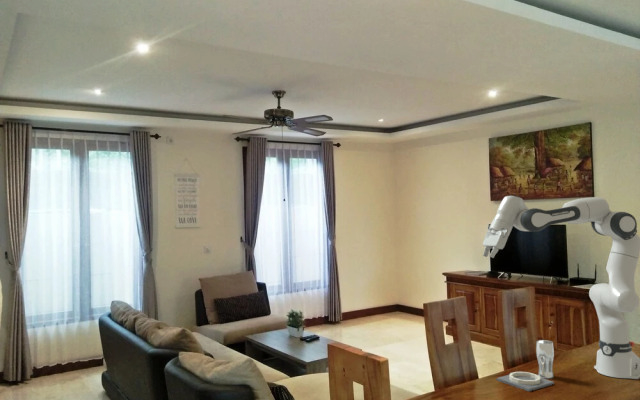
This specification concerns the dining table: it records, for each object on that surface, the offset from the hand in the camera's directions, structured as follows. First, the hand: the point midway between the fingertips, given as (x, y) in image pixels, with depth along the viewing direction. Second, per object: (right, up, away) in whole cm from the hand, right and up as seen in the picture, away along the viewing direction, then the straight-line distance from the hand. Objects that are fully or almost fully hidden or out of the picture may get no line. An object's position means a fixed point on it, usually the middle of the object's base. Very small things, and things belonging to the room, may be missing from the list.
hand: (487, 256), depth 219 cm
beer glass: (+24, -52, -4) cm, 58 cm away
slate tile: (+12, -52, -11) cm, 54 cm away
